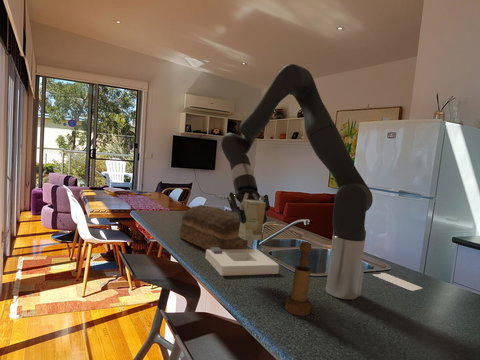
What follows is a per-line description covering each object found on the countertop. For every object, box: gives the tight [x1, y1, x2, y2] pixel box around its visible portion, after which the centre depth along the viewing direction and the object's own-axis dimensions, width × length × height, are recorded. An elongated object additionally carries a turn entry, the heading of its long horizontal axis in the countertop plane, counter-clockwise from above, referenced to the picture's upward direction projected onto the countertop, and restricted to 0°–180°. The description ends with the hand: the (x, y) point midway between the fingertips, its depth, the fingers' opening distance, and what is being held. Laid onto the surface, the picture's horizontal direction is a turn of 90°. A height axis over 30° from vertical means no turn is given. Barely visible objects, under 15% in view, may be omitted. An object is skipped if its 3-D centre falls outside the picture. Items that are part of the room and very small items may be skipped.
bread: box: [179, 204, 249, 251], centre depth 147 cm, size 15×32×16 cm, turn 41°
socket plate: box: [204, 247, 280, 277], centre depth 125 cm, size 20×18×4 cm
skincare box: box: [238, 199, 266, 241], centre depth 114 cm, size 6×4×12 cm
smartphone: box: [371, 272, 425, 292], centre depth 126 cm, size 8×1×16 cm
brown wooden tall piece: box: [284, 241, 312, 317], centre depth 93 cm, size 7×6×18 cm
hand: (254, 222), depth 113 cm, fingers closed on skincare box, 6 cm apart
